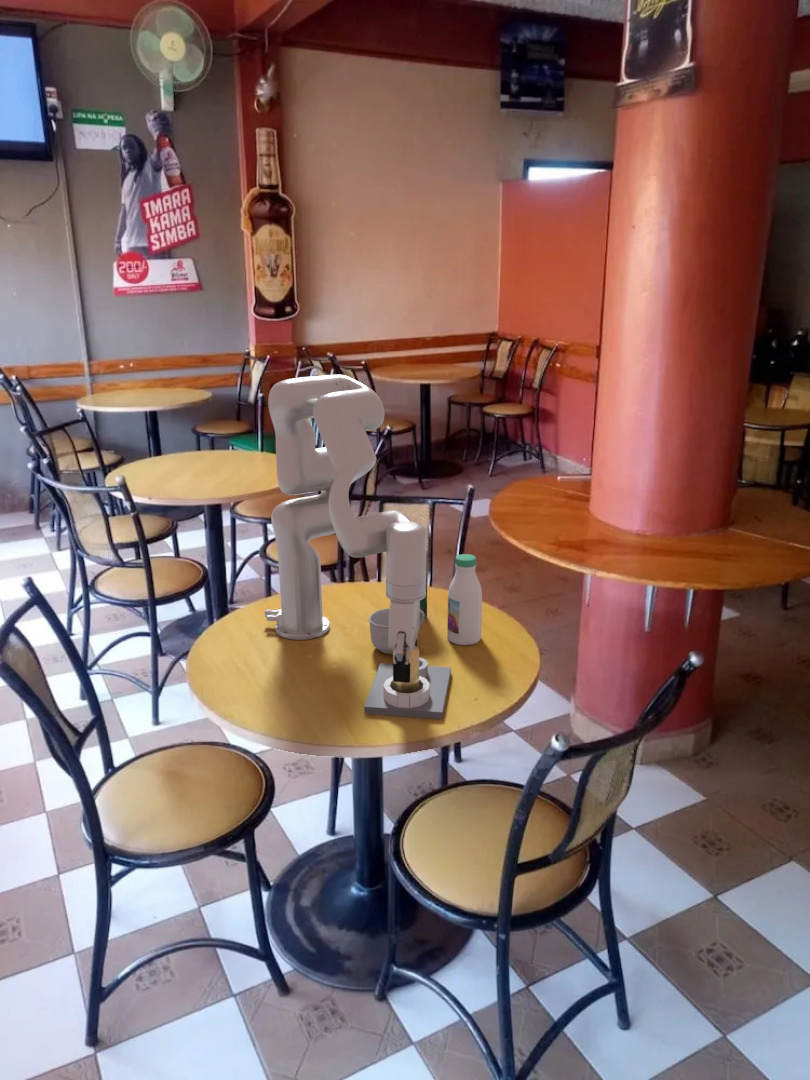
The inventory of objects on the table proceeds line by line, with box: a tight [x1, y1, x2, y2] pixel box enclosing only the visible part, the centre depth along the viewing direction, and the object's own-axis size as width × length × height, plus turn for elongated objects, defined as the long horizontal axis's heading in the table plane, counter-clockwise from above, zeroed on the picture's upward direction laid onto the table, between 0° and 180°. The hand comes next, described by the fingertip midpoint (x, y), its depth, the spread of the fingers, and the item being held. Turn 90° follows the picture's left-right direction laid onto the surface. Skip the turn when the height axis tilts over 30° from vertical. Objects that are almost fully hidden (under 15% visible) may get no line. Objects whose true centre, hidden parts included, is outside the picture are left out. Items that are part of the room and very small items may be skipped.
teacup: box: [368, 607, 426, 655], centre depth 183 cm, size 14×11×8 cm
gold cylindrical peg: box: [392, 645, 420, 693], centre depth 159 cm, size 5×5×10 cm
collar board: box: [363, 656, 452, 720], centre depth 164 cm, size 15×18×4 cm
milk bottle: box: [446, 553, 483, 646], centre depth 184 cm, size 8×8×20 cm
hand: (405, 668), depth 159 cm, fingers open, 9 cm apart
